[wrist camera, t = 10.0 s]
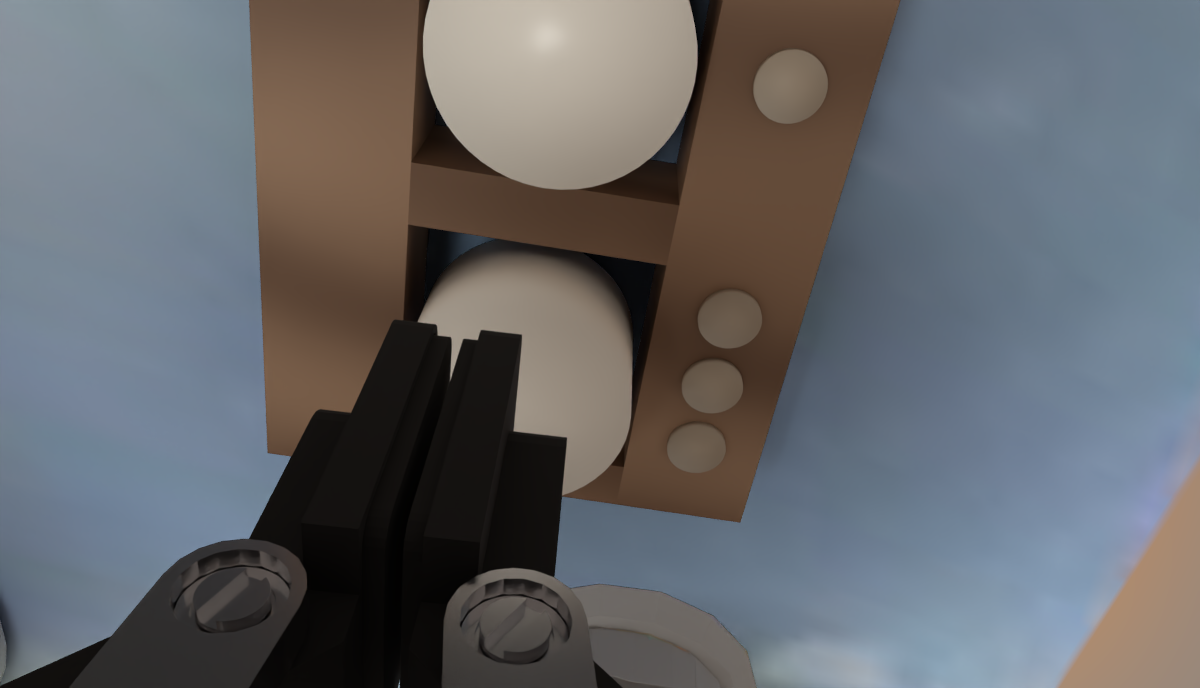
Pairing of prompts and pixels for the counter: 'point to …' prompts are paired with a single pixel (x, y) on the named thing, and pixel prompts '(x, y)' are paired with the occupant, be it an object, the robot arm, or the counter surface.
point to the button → (561, 83)
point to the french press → (660, 641)
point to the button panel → (562, 220)
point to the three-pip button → (549, 342)
